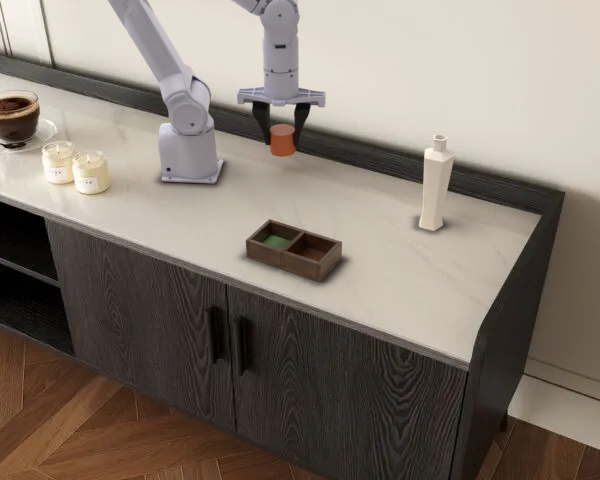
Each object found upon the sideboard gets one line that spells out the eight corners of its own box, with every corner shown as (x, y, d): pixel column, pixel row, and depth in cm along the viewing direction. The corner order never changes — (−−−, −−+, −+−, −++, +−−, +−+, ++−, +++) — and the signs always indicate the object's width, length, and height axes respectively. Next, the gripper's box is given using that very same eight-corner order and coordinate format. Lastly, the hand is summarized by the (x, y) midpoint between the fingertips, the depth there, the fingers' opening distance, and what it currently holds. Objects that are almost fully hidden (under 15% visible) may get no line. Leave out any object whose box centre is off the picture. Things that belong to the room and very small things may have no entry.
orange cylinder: (268, 156, 130) (267, 134, 128) (271, 144, 134) (271, 123, 131) (294, 157, 130) (293, 136, 127) (296, 145, 133) (296, 124, 131)
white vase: (427, 212, 123) (436, 127, 114) (449, 223, 120) (460, 136, 111) (409, 223, 120) (417, 137, 111) (431, 234, 118) (441, 147, 109)
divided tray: (246, 257, 114) (245, 240, 112) (270, 235, 118) (269, 218, 116) (320, 282, 109) (320, 265, 107) (341, 258, 113) (342, 241, 111)
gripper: (232, 74, 120) (236, 152, 128) (323, 78, 119) (322, 156, 127) (239, 57, 125) (243, 133, 134) (327, 60, 124) (325, 136, 133)
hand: (282, 143), depth 131 cm, fingers closed on orange cylinder, 4 cm apart
